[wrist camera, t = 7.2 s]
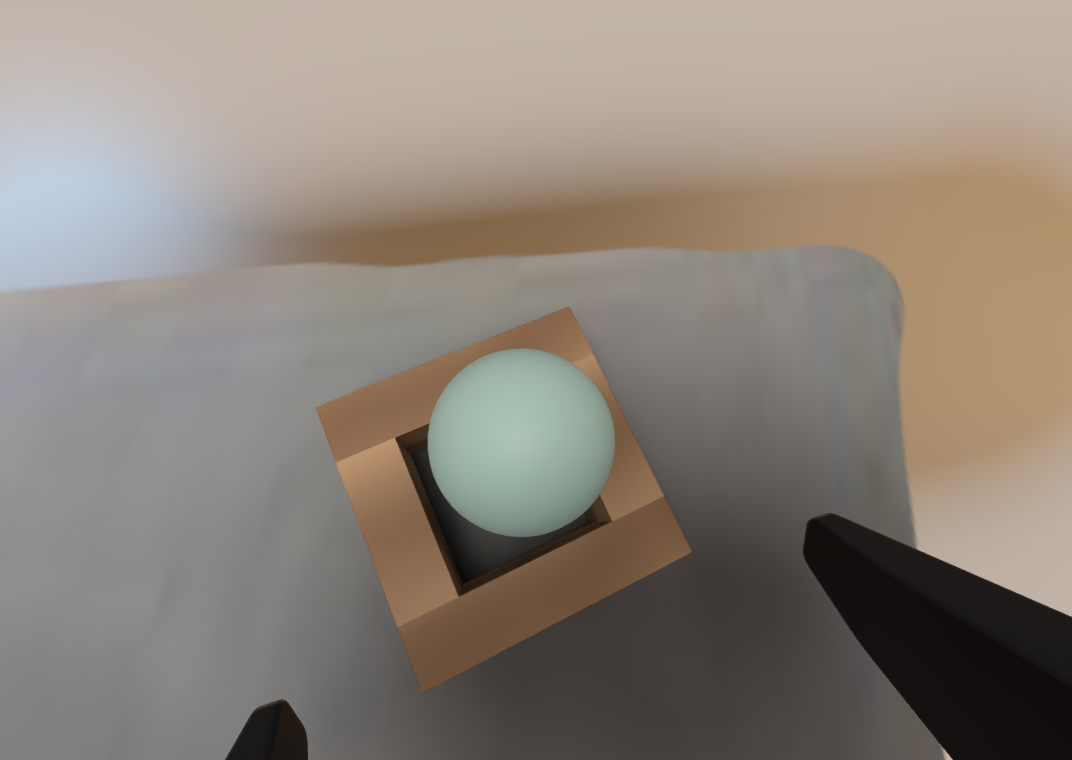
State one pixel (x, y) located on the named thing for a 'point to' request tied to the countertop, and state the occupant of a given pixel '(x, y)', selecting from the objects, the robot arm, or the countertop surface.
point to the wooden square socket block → (419, 545)
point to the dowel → (521, 442)
